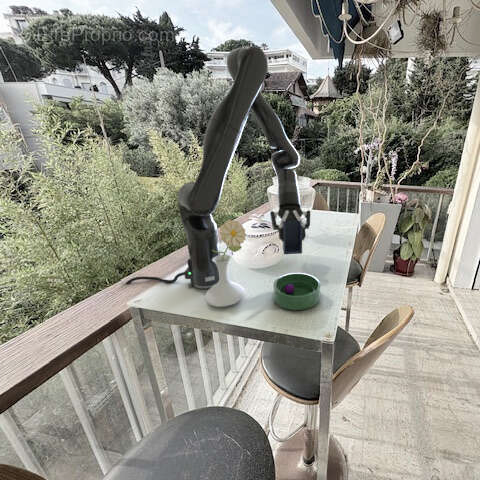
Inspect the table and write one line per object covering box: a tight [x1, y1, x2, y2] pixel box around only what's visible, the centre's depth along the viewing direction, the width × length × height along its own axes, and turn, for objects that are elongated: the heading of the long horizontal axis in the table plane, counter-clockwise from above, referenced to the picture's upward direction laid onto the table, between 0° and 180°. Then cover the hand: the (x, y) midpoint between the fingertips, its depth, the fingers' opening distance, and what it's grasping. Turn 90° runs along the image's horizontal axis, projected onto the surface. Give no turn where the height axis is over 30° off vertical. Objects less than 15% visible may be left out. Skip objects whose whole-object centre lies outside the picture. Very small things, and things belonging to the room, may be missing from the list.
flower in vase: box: [204, 219, 247, 308], centre depth 77 cm, size 13×11×25 cm
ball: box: [284, 284, 295, 295], centre depth 83 cm, size 3×3×3 cm
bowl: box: [273, 272, 321, 311], centre depth 82 cm, size 14×14×5 cm
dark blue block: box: [282, 220, 303, 255], centre depth 89 cm, size 6×6×10 cm
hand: (292, 239), depth 88 cm, fingers closed on dark blue block, 6 cm apart
